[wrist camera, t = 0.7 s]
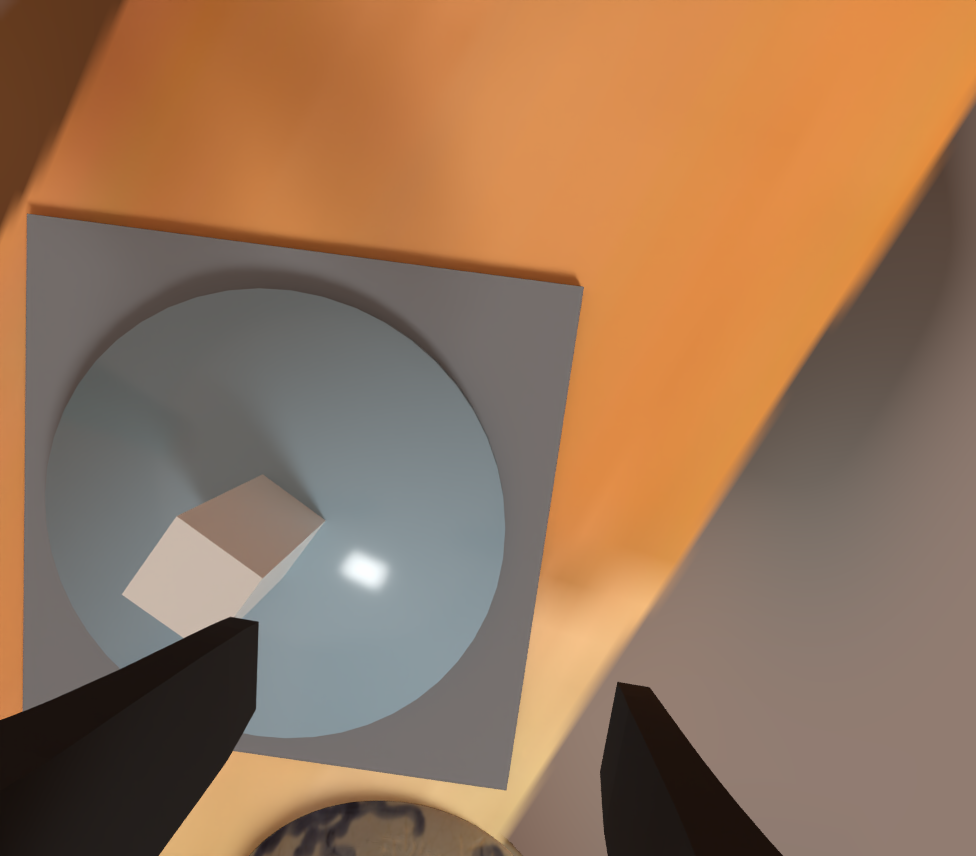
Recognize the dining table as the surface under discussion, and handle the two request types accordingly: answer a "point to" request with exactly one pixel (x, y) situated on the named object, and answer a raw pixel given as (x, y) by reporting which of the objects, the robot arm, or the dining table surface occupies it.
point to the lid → (279, 502)
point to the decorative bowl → (382, 833)
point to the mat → (410, 309)
